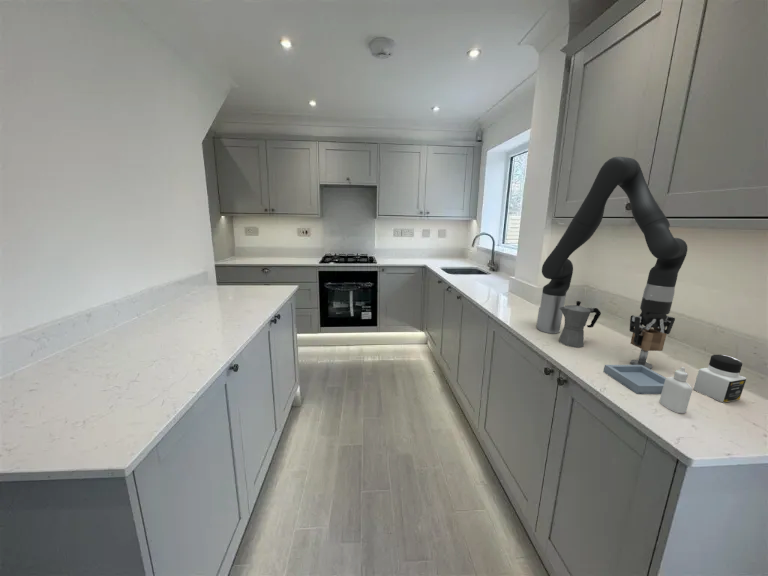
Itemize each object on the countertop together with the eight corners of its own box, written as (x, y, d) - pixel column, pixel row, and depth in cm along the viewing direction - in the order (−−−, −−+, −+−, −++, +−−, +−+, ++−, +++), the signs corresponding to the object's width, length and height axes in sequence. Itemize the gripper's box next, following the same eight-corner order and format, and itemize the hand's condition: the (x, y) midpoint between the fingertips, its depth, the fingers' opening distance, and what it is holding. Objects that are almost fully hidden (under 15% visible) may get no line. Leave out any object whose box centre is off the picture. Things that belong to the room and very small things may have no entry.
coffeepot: (558, 346, 120) (566, 303, 116) (549, 337, 130) (556, 297, 125) (600, 349, 118) (609, 306, 114) (588, 340, 127) (596, 299, 123)
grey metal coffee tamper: (625, 361, 109) (630, 343, 107) (641, 361, 109) (645, 343, 108) (640, 369, 103) (645, 350, 101) (657, 369, 103) (661, 350, 102)
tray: (603, 371, 101) (604, 364, 100) (640, 371, 101) (641, 364, 101) (637, 394, 88) (639, 386, 88) (678, 393, 89) (681, 385, 88)
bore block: (630, 343, 107) (633, 327, 106) (646, 343, 107) (650, 327, 106) (645, 350, 101) (649, 334, 100) (662, 350, 102) (666, 334, 100)
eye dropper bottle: (677, 404, 84) (688, 364, 81) (687, 415, 79) (699, 374, 76) (657, 400, 85) (667, 361, 83) (666, 411, 80) (677, 370, 78)
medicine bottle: (723, 403, 85) (736, 364, 82) (692, 389, 91) (703, 353, 89) (739, 400, 87) (752, 361, 84) (708, 386, 93) (719, 351, 91)
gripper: (666, 295, 105) (655, 340, 108) (627, 295, 104) (617, 340, 108) (689, 301, 97) (676, 349, 101) (647, 300, 96) (635, 349, 100)
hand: (646, 344), depth 104 cm, fingers closed on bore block, 6 cm apart
